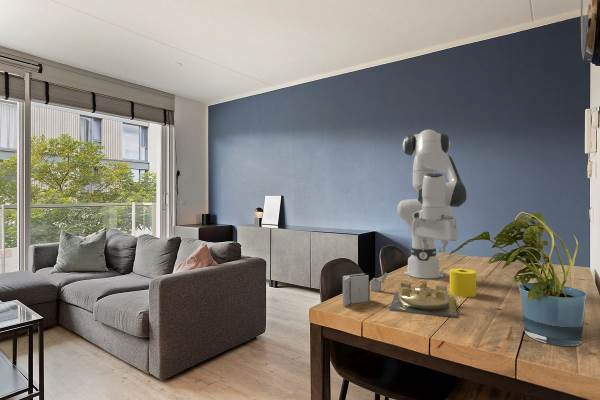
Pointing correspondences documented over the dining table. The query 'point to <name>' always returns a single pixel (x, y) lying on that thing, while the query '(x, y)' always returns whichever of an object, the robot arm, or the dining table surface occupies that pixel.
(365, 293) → the grey and black block
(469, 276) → the yellow toilet paper roll
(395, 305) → the base plate
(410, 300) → the gold radial fin assembly
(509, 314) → the dining table surface
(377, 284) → the grey angled block
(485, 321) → the dining table surface
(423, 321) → the dining table surface
